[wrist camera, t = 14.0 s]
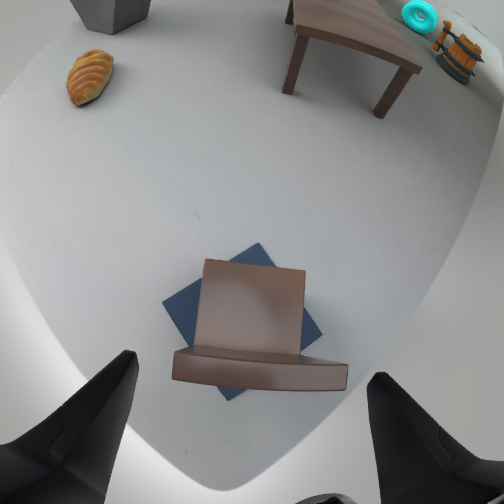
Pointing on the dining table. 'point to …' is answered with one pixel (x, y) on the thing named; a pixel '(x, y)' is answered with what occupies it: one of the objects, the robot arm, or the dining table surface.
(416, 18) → the donuts
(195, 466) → the dining table surface
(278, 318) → the chair
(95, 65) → the pastry
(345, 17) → the side table
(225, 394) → the mat
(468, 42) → the mug
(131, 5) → the grey hexagonal prism
